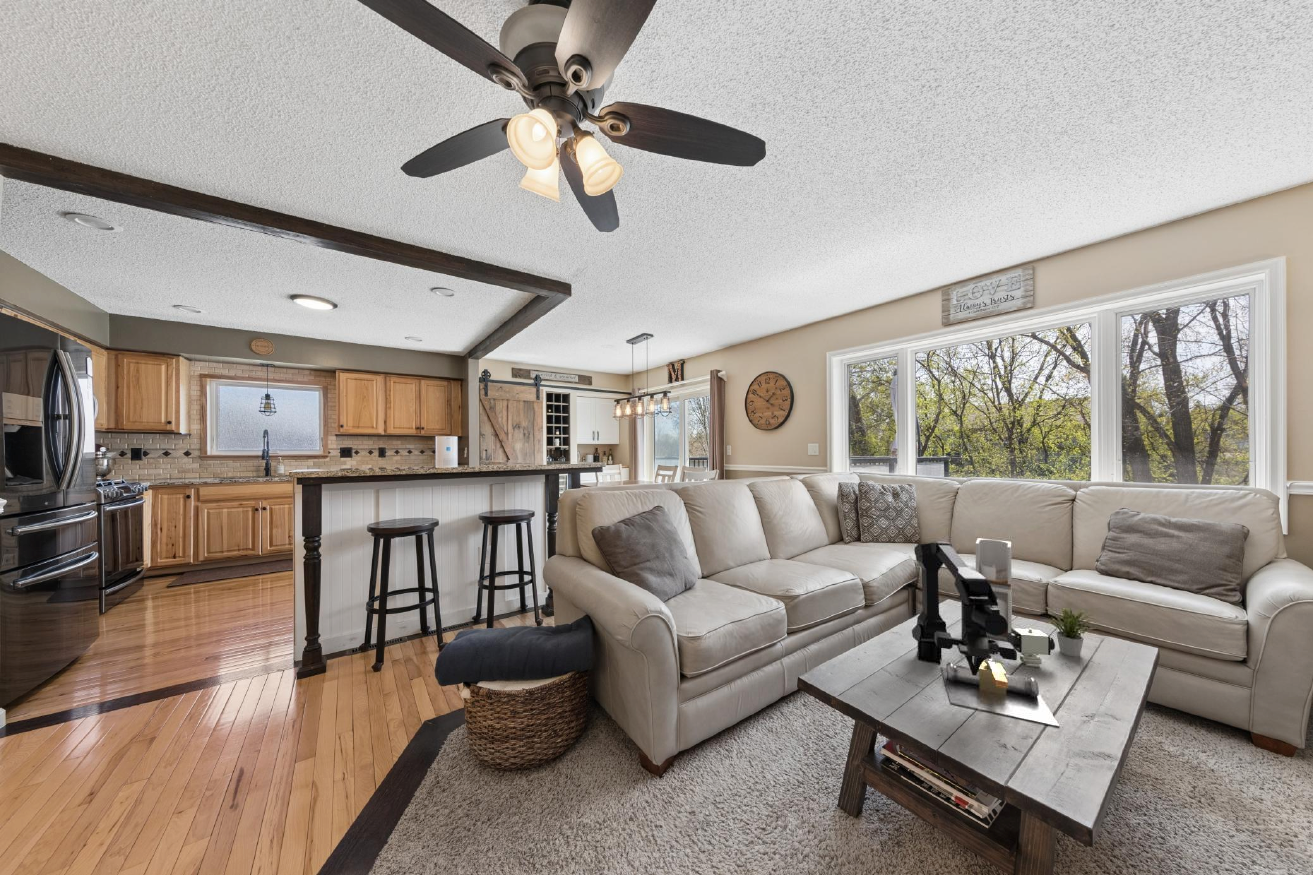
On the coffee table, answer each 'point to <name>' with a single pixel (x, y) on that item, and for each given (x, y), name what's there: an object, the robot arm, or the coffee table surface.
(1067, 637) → the house plant
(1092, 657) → the coffee table surface
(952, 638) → the robot arm
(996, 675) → the valve lever
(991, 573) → the white shelf tower
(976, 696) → the pipe on metal plate
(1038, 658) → the pneumatic valve
